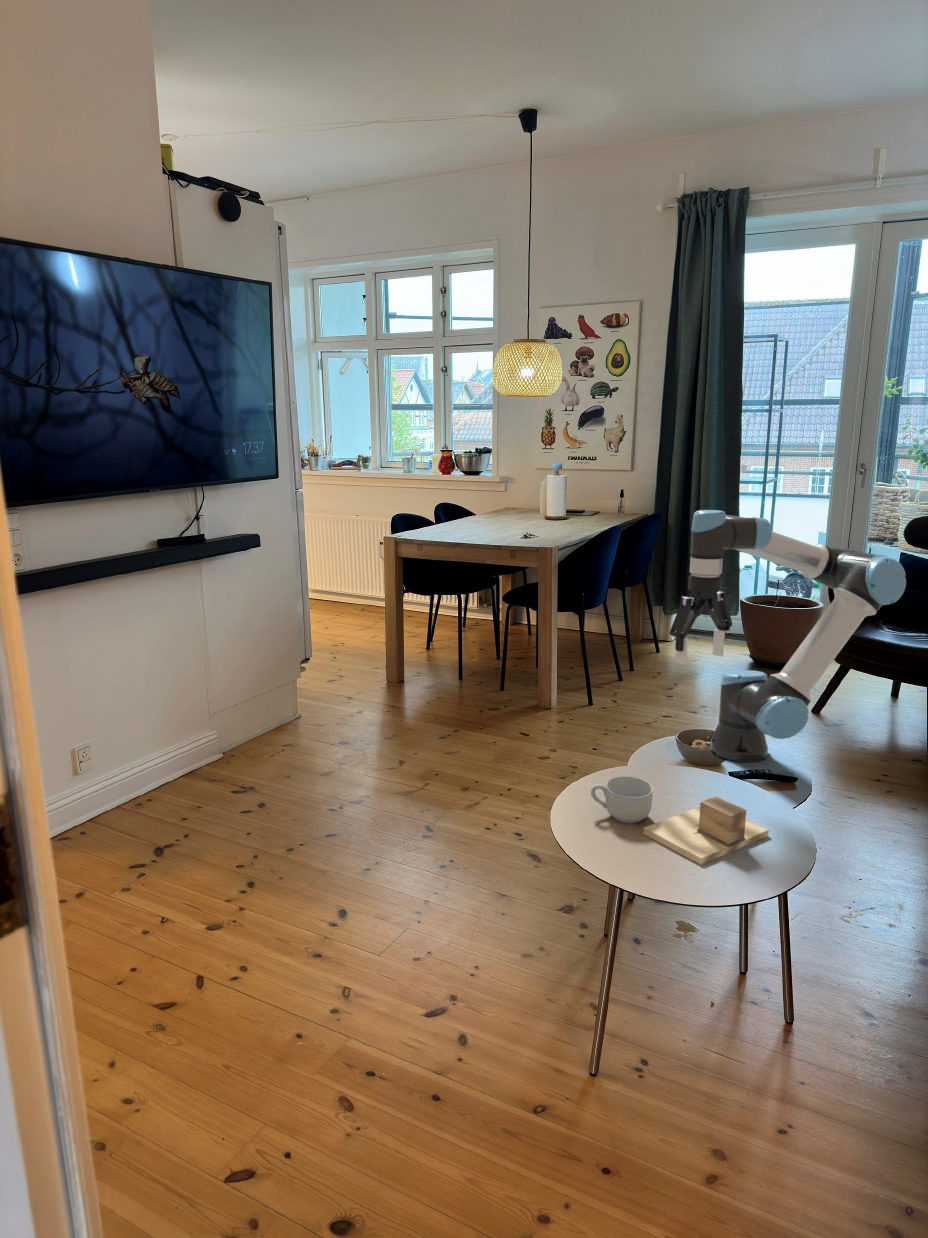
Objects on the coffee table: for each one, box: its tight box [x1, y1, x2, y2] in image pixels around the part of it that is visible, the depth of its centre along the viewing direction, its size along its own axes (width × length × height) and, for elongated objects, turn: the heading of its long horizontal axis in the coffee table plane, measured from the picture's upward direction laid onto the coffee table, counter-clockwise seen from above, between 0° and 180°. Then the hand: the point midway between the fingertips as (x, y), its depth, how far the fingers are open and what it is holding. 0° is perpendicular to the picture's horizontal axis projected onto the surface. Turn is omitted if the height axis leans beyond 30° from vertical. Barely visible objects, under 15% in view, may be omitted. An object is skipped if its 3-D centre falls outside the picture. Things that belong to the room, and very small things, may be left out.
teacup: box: [590, 775, 654, 824], centre depth 186 cm, size 14×11×8 cm
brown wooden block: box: [697, 796, 747, 847], centre depth 174 cm, size 5×8×7 cm, turn 34°
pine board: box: [643, 806, 770, 866], centre depth 178 cm, size 22×16×2 cm
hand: (699, 659), depth 201 cm, fingers open, 13 cm apart
